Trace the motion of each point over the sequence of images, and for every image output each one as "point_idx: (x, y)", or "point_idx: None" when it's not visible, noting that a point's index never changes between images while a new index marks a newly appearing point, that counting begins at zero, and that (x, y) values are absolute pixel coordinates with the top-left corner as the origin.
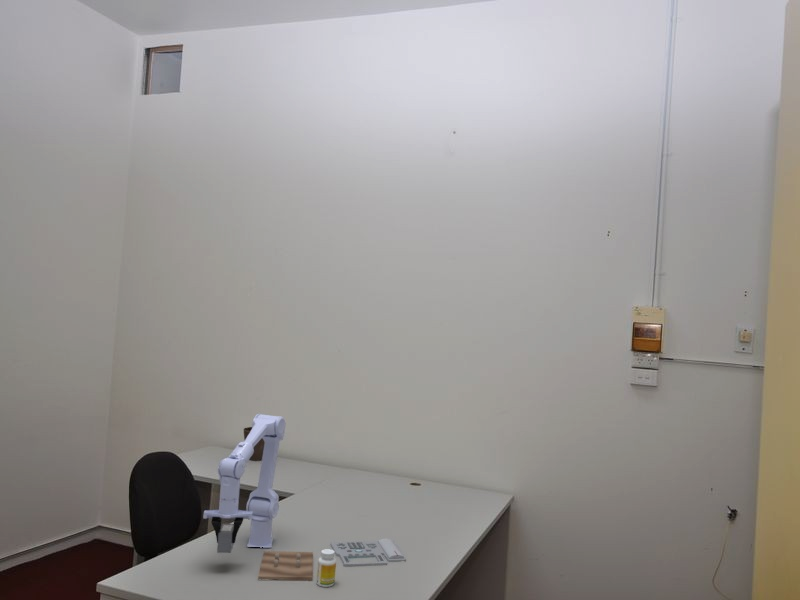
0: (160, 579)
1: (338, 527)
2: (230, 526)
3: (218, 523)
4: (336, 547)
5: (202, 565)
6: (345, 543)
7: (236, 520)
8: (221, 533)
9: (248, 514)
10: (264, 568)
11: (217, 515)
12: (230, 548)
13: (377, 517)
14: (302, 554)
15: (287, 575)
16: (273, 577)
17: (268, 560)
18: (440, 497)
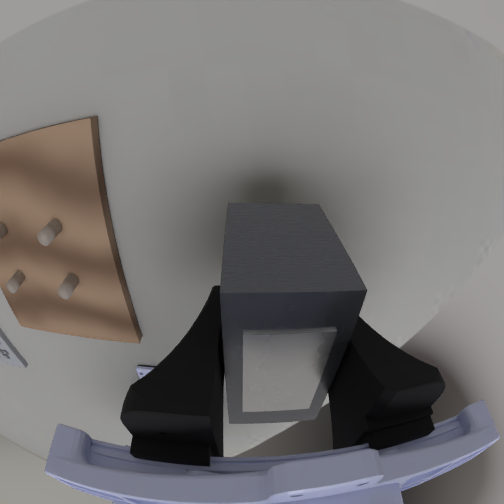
0: (475, 138)
1: (60, 414)
2: (257, 399)
3: (389, 384)
4: (2, 342)
5: (349, 249)
6: (2, 356)
7: (191, 437)
8: (335, 285)
9: (70, 473)
10: (86, 204)
11: (421, 457)
12: (230, 215)
13: (35, 423)
14: (31, 314)
15: (6, 152)
16: (41, 129)
17: (96, 277)
18: (17, 436)
